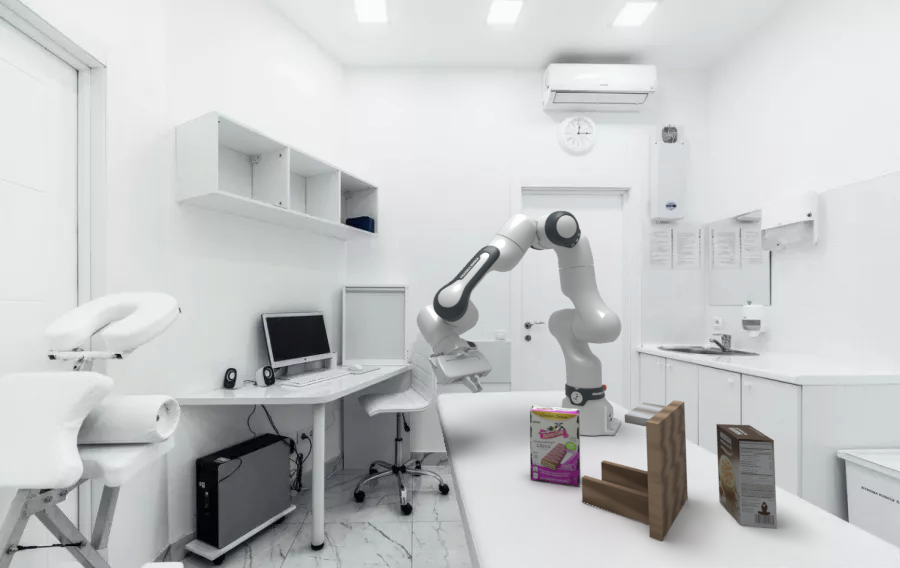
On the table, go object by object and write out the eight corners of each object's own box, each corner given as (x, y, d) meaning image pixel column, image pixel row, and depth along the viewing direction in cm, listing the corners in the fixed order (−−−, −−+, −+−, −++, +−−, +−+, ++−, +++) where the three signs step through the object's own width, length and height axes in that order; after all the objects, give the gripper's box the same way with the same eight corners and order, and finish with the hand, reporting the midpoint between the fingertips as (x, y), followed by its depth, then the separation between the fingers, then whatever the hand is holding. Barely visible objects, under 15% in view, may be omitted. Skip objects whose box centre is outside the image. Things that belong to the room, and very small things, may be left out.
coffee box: (717, 501, 82) (714, 422, 83) (752, 504, 81) (749, 424, 82) (740, 526, 73) (736, 437, 74) (780, 529, 72) (775, 439, 73)
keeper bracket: (610, 476, 95) (608, 391, 96) (687, 498, 84) (684, 401, 85) (573, 509, 80) (571, 408, 81) (662, 541, 69) (658, 424, 70)
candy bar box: (530, 481, 93) (528, 409, 93) (532, 472, 97) (531, 404, 98) (580, 488, 89) (579, 413, 90) (581, 478, 94) (579, 407, 94)
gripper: (432, 347, 106) (460, 390, 99) (479, 342, 122) (506, 378, 115) (420, 362, 109) (446, 405, 102) (467, 355, 124) (493, 392, 117)
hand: (478, 391), depth 109 cm, fingers closed
